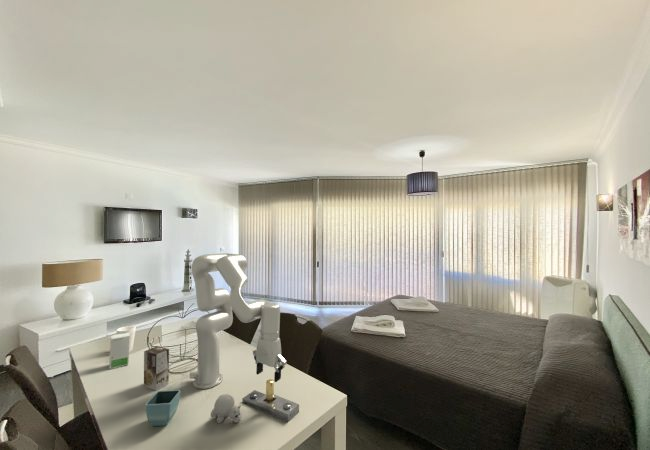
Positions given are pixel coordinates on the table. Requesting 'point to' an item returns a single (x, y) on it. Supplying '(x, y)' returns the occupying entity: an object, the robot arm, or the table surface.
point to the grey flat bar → (272, 405)
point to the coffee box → (156, 367)
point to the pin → (270, 391)
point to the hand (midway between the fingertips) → (268, 376)
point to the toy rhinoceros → (226, 409)
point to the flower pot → (162, 407)
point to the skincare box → (119, 350)
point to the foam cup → (131, 331)
